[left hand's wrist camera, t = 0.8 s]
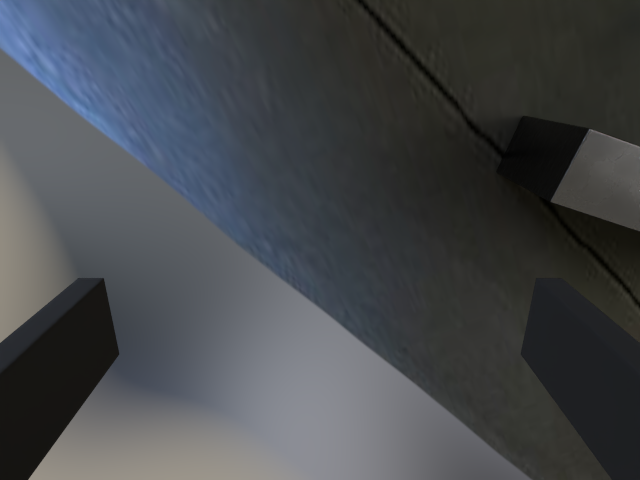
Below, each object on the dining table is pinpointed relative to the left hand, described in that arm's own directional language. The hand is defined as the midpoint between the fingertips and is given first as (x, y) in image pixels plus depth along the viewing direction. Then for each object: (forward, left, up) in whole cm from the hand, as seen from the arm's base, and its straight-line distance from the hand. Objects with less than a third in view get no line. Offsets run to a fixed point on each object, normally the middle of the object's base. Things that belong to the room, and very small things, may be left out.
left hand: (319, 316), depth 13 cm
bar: (-13, +24, -24) cm, 36 cm away
